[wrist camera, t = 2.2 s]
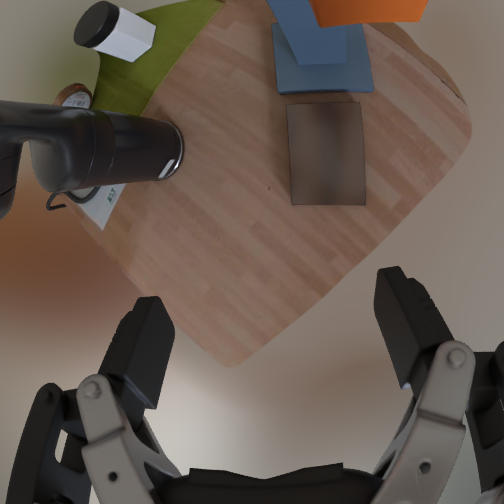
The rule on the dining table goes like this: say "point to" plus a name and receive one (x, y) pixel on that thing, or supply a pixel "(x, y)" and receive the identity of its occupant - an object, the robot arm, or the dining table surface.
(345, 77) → the stand
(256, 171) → the dining table surface
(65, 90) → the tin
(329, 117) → the pad
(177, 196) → the dining table surface
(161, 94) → the dining table surface
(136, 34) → the jar
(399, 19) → the orange toy mallet
